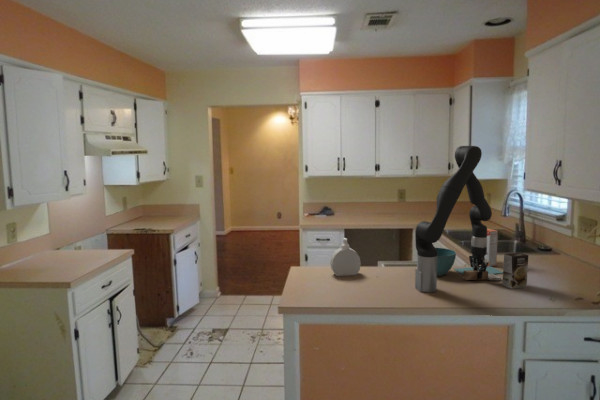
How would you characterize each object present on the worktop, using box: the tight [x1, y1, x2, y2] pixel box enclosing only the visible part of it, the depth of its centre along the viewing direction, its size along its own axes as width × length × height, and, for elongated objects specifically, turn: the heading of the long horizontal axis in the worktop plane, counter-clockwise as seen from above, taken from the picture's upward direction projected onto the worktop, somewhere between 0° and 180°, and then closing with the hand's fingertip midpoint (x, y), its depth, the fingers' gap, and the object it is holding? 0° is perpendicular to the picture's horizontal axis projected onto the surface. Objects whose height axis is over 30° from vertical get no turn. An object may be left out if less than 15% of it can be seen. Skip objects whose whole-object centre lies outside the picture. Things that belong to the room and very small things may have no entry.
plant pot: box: [435, 247, 457, 277], centre depth 216 cm, size 18×18×12 cm
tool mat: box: [453, 266, 503, 275], centre depth 218 cm, size 22×12×1 cm, turn 98°
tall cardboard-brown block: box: [462, 270, 502, 281], centre depth 205 cm, size 18×7×4 cm, turn 98°
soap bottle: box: [329, 237, 362, 277], centre depth 217 cm, size 16×5×20 cm, turn 97°
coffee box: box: [502, 252, 529, 290], centre depth 194 cm, size 9×6×16 cm
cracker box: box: [471, 227, 499, 267], centre depth 232 cm, size 14×6×21 cm, turn 17°
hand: (477, 277), depth 205 cm, fingers closed on tall cardboard-brown block, 3 cm apart
